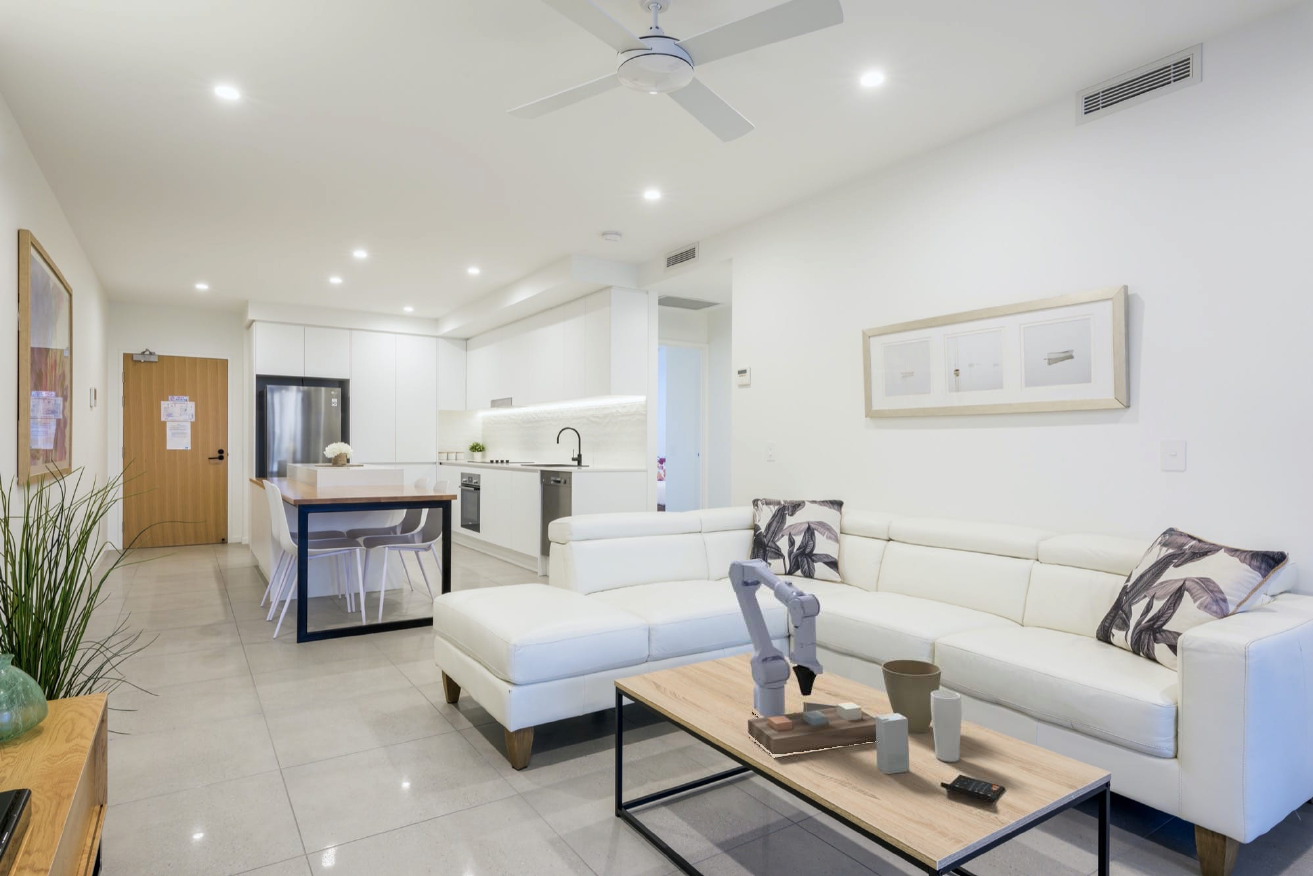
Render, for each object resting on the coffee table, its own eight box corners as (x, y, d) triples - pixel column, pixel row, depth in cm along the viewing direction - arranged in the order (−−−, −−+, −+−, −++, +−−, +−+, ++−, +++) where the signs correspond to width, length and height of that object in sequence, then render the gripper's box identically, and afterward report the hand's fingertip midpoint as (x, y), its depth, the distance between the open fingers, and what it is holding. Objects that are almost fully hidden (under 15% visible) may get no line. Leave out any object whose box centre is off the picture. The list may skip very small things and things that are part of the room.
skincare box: (899, 764, 165) (897, 711, 166) (910, 772, 161) (909, 718, 161) (875, 767, 164) (874, 714, 164) (886, 775, 159) (884, 721, 160)
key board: (748, 737, 183) (747, 719, 183) (852, 722, 192) (851, 705, 193) (773, 758, 170) (773, 739, 170) (884, 741, 179) (883, 722, 179)
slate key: (803, 726, 182) (803, 712, 183) (818, 724, 184) (818, 710, 184) (812, 732, 178) (811, 718, 178) (827, 730, 180) (827, 716, 180)
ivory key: (837, 717, 186) (836, 703, 186) (851, 715, 187) (851, 701, 187) (846, 723, 181) (846, 709, 182) (861, 721, 183) (861, 707, 183)
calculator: (1004, 791, 152) (1004, 776, 152) (987, 811, 143) (987, 796, 143) (959, 778, 158) (959, 764, 158) (940, 797, 150) (940, 782, 150)
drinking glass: (944, 766, 164) (942, 700, 165) (926, 754, 171) (924, 691, 171) (969, 762, 166) (967, 697, 166) (950, 751, 172) (948, 688, 173)
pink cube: (768, 731, 179) (767, 717, 180) (783, 729, 181) (783, 715, 181) (776, 738, 175) (776, 723, 175) (792, 735, 177) (792, 721, 177)
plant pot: (916, 714, 197) (914, 656, 198) (955, 733, 183) (954, 671, 184) (871, 722, 192) (869, 662, 193) (908, 742, 178) (906, 677, 179)
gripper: (778, 637, 191) (779, 688, 191) (804, 650, 177) (805, 705, 177) (801, 634, 193) (803, 685, 193) (829, 647, 179) (831, 702, 179)
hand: (806, 694), depth 185 cm, fingers closed
